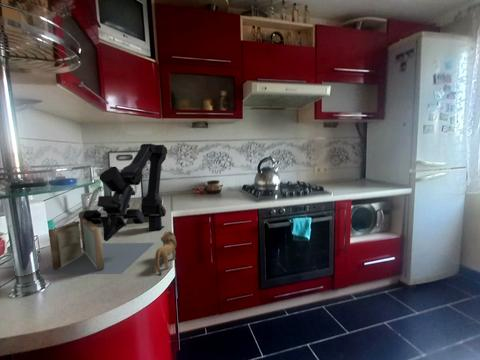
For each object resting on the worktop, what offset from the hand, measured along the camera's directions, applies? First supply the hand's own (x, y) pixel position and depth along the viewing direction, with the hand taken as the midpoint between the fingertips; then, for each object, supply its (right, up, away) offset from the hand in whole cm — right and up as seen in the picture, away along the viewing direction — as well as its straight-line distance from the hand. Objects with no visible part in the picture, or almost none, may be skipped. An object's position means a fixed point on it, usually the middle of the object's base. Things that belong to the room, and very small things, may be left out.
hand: (105, 240), depth 77 cm
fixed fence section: (-13, -7, +4) cm, 15 cm away
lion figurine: (+19, -7, -2) cm, 21 cm away
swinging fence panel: (-5, -6, +2) cm, 8 cm away
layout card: (-4, -7, +5) cm, 9 cm away
